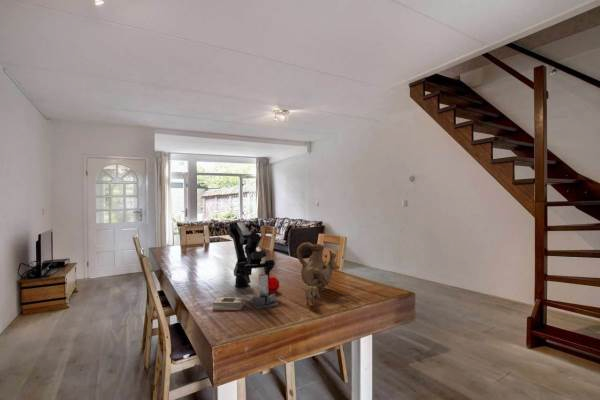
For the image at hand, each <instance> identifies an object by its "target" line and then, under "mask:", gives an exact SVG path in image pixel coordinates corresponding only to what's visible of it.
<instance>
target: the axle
mask: <svg viewBox="0 0 600 400" xmlns="http://www.w3.org/2000/svg"><path fill="white" fill-rule="evenodd" d="M258 291H259V292H258V294H259V295H258V297H266V303H267V297H268V296H269V293H268V275H266V274H265V273H264V274H262V273H261V274H259V275H258Z"/></svg>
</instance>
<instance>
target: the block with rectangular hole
mask: <svg viewBox="0 0 600 400" xmlns="http://www.w3.org/2000/svg"><path fill="white" fill-rule="evenodd" d="M244 300H245V298H244V297H243V296H240V297H239V296H236V297H235V296H234V297H233V296H231V297H230V296H229V297H227V296H226V297H225V296H224V297H221V296H218V297H216V299H214V300H213V302H212V310H213V311H214V310H215V311H219V310H220V311H223V310H225V311H228V310H229V311H233V310H234V311H235V310H236V311H240V310H242V308H243V306H244V304H245V301H244Z"/></svg>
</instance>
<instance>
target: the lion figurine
mask: <svg viewBox="0 0 600 400" xmlns="http://www.w3.org/2000/svg"><path fill="white" fill-rule="evenodd" d="M304 297H305V300H306V303H305V305H306V306H309V304H310V303H309V302H311V305H312V306H315V298H316V299H317V300H318V301H319V300H321V296H320V291H319V290H318V288H317V287H316V286H314V287H312V286H308V285H307V287H306V288H305V291H304Z"/></svg>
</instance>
